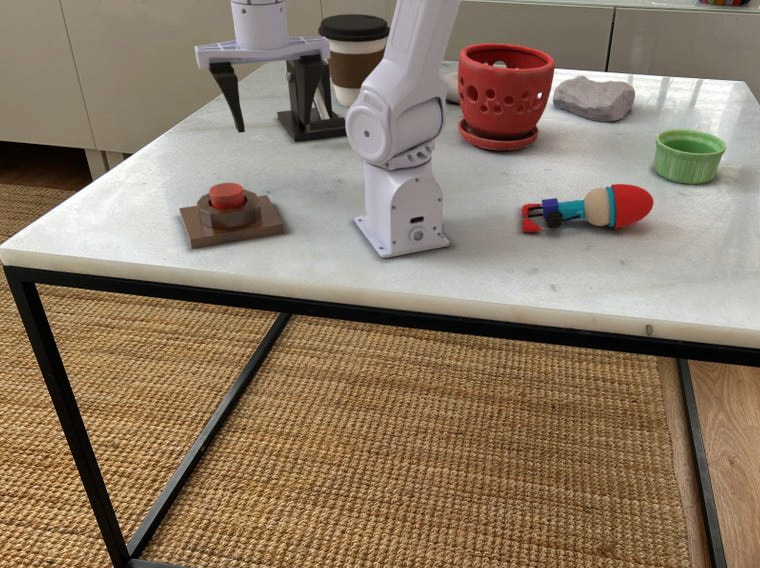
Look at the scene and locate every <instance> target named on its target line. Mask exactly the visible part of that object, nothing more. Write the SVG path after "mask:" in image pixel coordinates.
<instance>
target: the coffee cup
mask: <svg viewBox="0 0 760 568" xmlns="http://www.w3.org/2000/svg"><path fill="white" fill-rule="evenodd" d="M390 29H391V27H390V26H388V21H387V20H385V18H383V17H379V16H376V15H370V14H360V13H347V14H336V15H330V16H328V17H324V18H323V19H322V20H321V22H320V25H319V27H318V29H317V31H318V32H317V34H319V36H320V37H325V38H327V39H328V40H329V44H330V58H327V59H326V63H327V64H329V71H330V81H331V83H332V84H333V88H334V89H333V90H334V93H335V98H336V100H337V101H338V102H339V104H340V105H342V106H344V107H349V108H350V107H351V106H352V105H353V104H354V103H355V102H356V100H357V99H358V97H359V94H360V90H361V86H362V84H363V82H364V81H365V80H366V78H367V77H368V76H369V75H370V74H371V73H372V71H373V70H374V69H375V68H376V67H377V66H378V65H379V63H380V62H381V61H382V59H383V57H384V53H385V49H386V45H387V44H386V39H387V38H388V37H389V33H390Z"/></svg>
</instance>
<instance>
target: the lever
mask: <svg viewBox="0 0 760 568" xmlns="http://www.w3.org/2000/svg"><path fill="white" fill-rule="evenodd" d="M313 105H314V108H316V110H317V113H318V116H319V118H320V120H315V121H310V124H309V125H308V128H309V131H318V130H326V129H334V128H342V127H345V125H346V124H345V123H346V118H345V117H344V116H341V117H339V118H332V119H330V118H329V115H328V113H327V110H326V107H325V105H324V102H323V99H322V97H321V94H320V91H319V89H318V86H317V89H316V92H315V95H314V99H313Z"/></svg>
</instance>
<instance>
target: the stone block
mask: <svg viewBox="0 0 760 568" xmlns="http://www.w3.org/2000/svg"><path fill="white" fill-rule="evenodd" d="M635 98H636V90H635V88H634V87H633V86H632V85H630V83H628V82H626V81H621V80H620V81H618V80H617V81H616V80H615V81H614V80H607V81H595V80H591V79H589V78H588V77H587V76H585V75H577V76H576V77H574V78H570V79H565V80H564V81H561V82H560V83H559V84H558V85H557V86H556V87H555V89H554V92H553V95H552V105H553V106H555V107H556V108H558V109H562V110H564V111H567V112H570V113H572V114H574V115H576V116H580V117H582V118H586V119H588V120H591V121H595V122H604V123H605V122H608V123H610V122H615V121H619V120H623V119H624V117H625V116H626V115H627V114H628V113H629V112H630V111H631V110H632V108H633V106H634V103H635Z"/></svg>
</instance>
